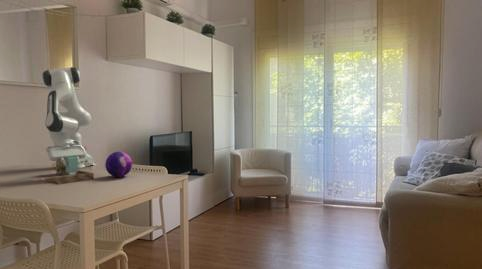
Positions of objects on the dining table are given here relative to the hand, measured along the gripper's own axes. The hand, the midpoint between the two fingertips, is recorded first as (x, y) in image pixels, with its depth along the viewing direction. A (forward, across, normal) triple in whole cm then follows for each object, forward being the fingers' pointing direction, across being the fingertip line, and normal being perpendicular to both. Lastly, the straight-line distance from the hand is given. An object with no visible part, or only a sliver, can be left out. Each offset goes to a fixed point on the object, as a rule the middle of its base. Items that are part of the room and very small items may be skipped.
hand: (72, 164), depth 204 cm
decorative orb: (+14, +22, -2) cm, 27 cm away
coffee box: (-10, +7, +22) cm, 25 cm away
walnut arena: (+5, -1, +8) cm, 9 cm away
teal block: (+3, 0, +4) cm, 4 cm away
